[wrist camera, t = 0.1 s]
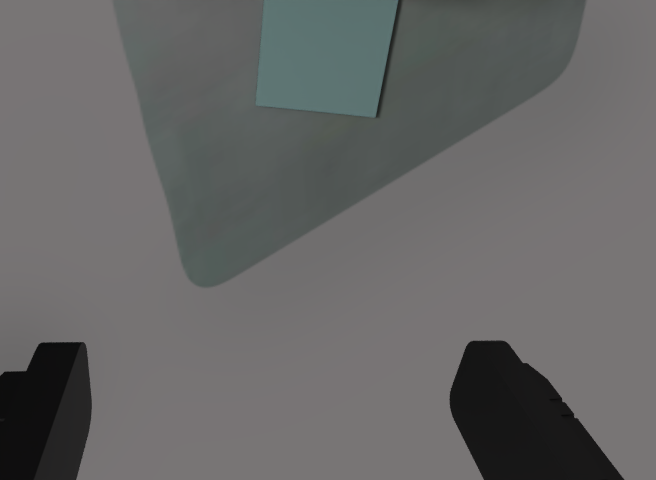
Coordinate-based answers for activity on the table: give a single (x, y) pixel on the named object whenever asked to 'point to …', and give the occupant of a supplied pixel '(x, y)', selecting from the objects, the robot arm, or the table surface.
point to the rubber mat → (324, 54)
